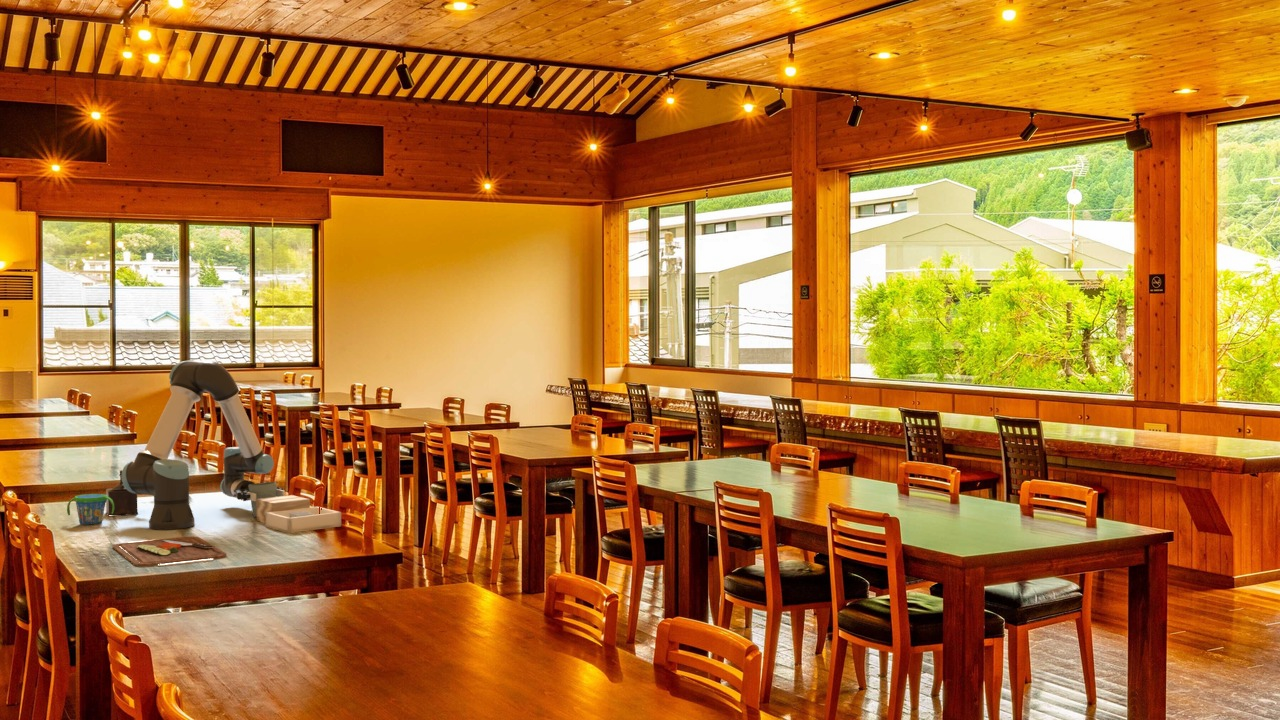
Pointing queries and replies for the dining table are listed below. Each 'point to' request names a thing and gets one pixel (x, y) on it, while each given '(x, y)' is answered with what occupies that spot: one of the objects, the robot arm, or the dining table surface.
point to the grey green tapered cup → (262, 493)
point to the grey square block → (299, 514)
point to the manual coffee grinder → (121, 500)
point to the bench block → (279, 505)
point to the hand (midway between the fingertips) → (269, 495)
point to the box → (303, 520)
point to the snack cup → (90, 508)
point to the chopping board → (169, 551)
